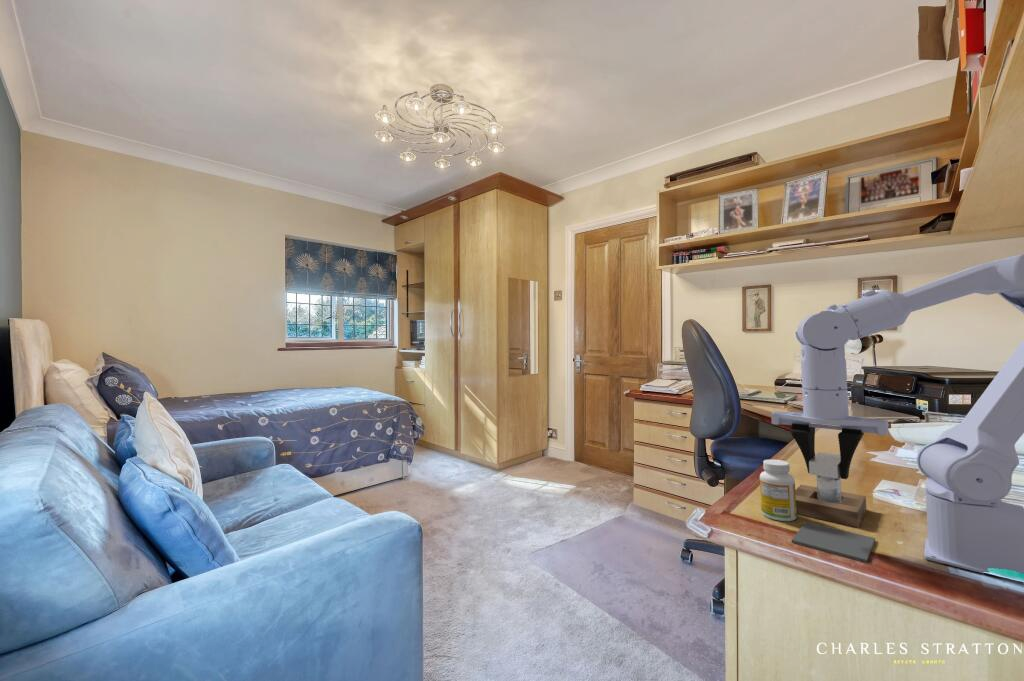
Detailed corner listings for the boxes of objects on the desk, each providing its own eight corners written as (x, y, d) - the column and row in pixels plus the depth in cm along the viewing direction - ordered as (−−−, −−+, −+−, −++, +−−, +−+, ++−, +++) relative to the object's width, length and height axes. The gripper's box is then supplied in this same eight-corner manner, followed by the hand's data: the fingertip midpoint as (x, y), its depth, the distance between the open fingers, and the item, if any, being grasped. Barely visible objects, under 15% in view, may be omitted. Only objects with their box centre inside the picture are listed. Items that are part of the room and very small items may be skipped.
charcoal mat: (875, 540, 64) (874, 537, 64) (866, 562, 58) (866, 559, 58) (805, 524, 71) (805, 521, 71) (791, 542, 64) (791, 539, 64)
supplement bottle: (776, 508, 78) (773, 456, 78) (804, 519, 73) (801, 464, 73) (754, 512, 76) (751, 460, 76) (781, 524, 71) (778, 467, 71)
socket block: (866, 509, 75) (865, 496, 75) (858, 527, 68) (857, 512, 69) (801, 496, 83) (800, 484, 83) (788, 511, 76) (787, 498, 76)
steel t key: (839, 509, 61) (837, 465, 61) (810, 503, 63) (808, 461, 64) (847, 496, 66) (845, 455, 66) (820, 491, 68) (818, 452, 68)
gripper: (888, 388, 62) (893, 478, 62) (778, 384, 73) (781, 460, 73) (883, 393, 57) (888, 490, 57) (766, 387, 68) (769, 469, 68)
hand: (828, 474), depth 65 cm, fingers closed on steel t key, 3 cm apart
